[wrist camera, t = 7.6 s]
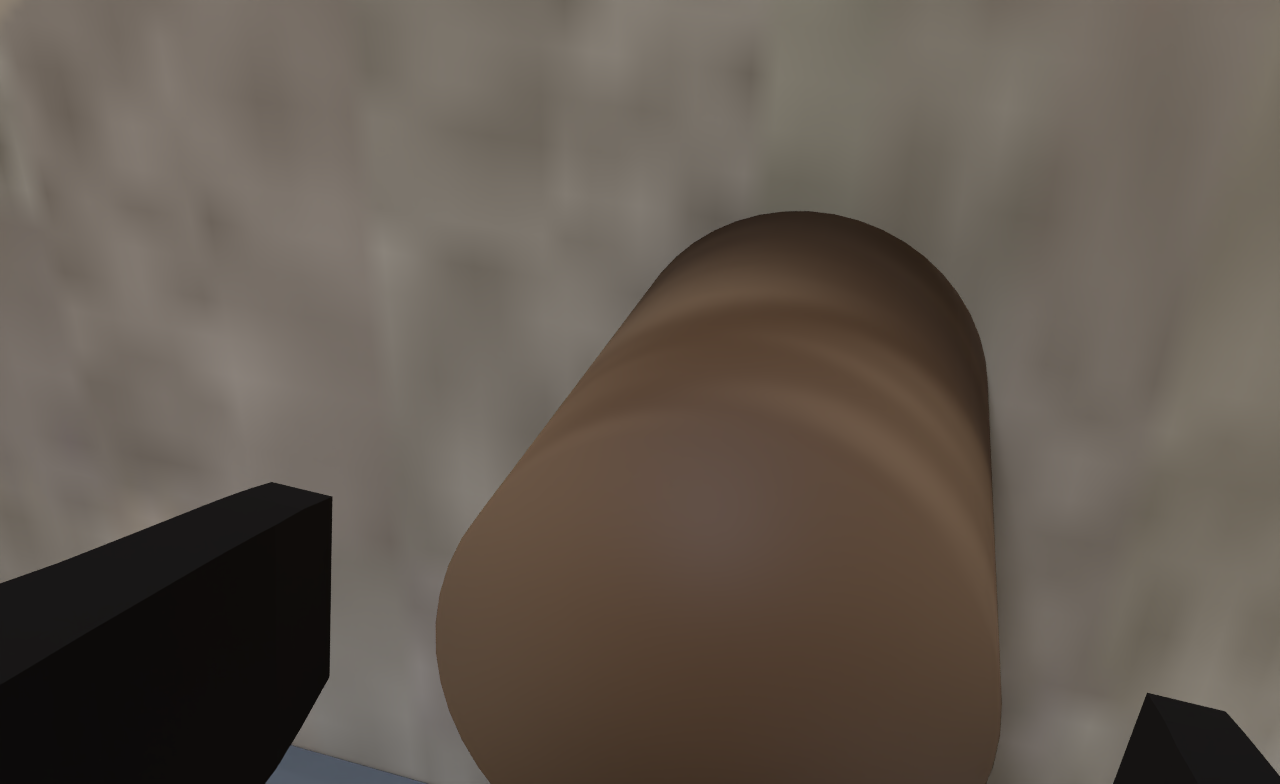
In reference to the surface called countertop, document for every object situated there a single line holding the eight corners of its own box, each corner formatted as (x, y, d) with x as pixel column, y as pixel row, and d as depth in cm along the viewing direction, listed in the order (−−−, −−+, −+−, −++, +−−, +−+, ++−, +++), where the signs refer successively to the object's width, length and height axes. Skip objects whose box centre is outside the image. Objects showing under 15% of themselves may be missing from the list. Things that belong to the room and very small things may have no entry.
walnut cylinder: (1029, 250, 15) (1074, 510, 9) (940, 580, 17) (927, 974, 11) (648, 179, 16) (451, 372, 10) (607, 502, 18) (422, 829, 12)
